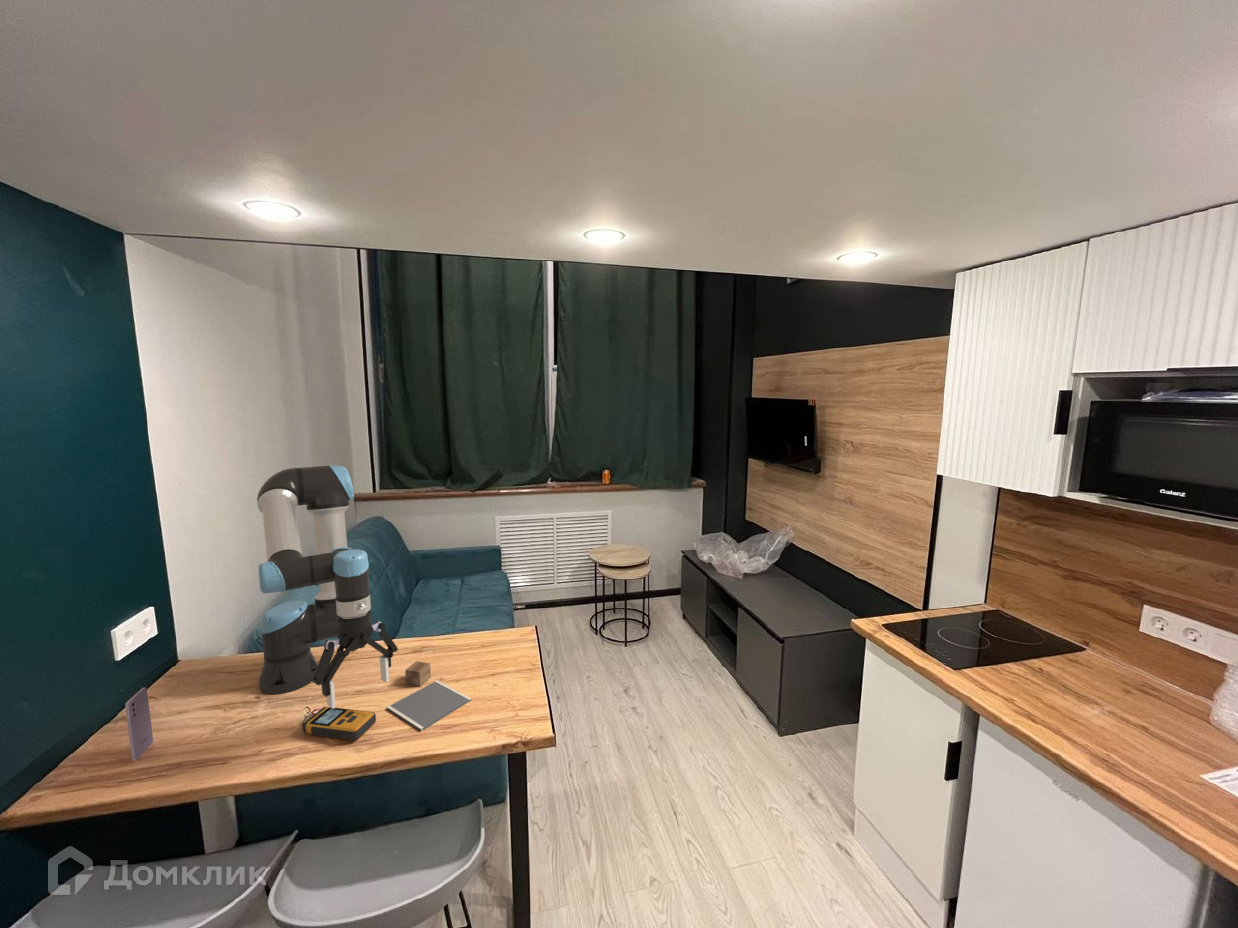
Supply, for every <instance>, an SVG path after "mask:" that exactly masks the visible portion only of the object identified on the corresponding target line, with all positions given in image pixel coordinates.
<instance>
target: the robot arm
mask: <svg viewBox="0 0 1238 928" xmlns="http://www.w3.org/2000/svg"><path fill="white" fill-rule="evenodd" d="M256 497H257V498H256V503H257V509H258V510H259V512H261V514H262V519H263V529H264V530H263V532H264V539H265V542H264V543H265V551H266V562H262V563H260V564H259V565H258V580H259V589H260V592H261V593H263V594H272V593H273V594H274V593H282V592H286V591H290V590H295V589H296V590H297V589H300V588H305V587H306V588H307V587H311V586H317V585H318V588H319V592H318V593H317V594H316V595H315V596H314V602H313V603H311V604H308V603H307V602H306V600H303V599H302V600H301V599H299V600H291V601H286V602H283V603H281V604H278V605H275V606H274V607H271V608H270V609H268V610H267V611H265V612H264V614H263V615H262V616H261V619H260V621H261V622H260V623H261V625H260V633H261V635H262V637H261V638H262V649H263V650H262V651H263V652H262V653H263V659H264V660H263V661H264V662H263V665H262V669H261V672H260V675H259V679H258V688H259V691H260V692H262V693H263V694H266V695H267V694H268V695H278V694H279V695H280V694H285V693H290V692H293V691H296V690H299V689H301V688H304V687H306V686H308V685H309V684H311V683H314V684H315V685H317V686H320V685H321V693H322V695H323V696H324V697H326V705H327V707H331V708H332V709H333V708H337V707H336V693H335V681H333V678H334V676H335V674H336V673H337V672H338V670H339V668H340V667H341V665H342V664H343V662H344V661H345V659H346V657H348V656H349V654H350V653H351V652H352V653H353V652H355V651H357V650H358V649H363V648H365V646H366V645H368V646H370V647H372V648H373V649H374V650H376V651H378V652H379V653H381V654H382V655H379V667H380V680H381V681H383V682H384V683H388V682H390V673H389V671H390V670H389V668H391V667H392V658H393V657H394V653H396V652H398V650H399V648H398V646H397V645H396V644H395V641H394V640H393V639H392V638H391V636H390V635H389V633H388V632H387V631H386V627H385V623H384V622H382V621H379V620H376V621H375V622H374V624H373V620H372V610H371V609H372V608H371V607H372V606H371V605H372V603H371V592H370V591H371V590H370V575H369V573H370V572H369V569H370V568H369V566H370V563H369V559H368V553H367V552H366V551H365V550H362V549H357V548H356V549H352V548H350V547H348V541H347V539H348V537H347V527H346V526H347V525H346V517H345V516H346V514H345V512H346V510H348V508H349V507H350V502H352V501H353V500H354V498H355V494H354V487H353V483H352V478H351V476H350V473H349V471H348V468H346V467H345V466H343V465H329V464H328V465H322V466H321V465H319V466H308V467H307V466H306V467H291V468H286V469H283V470H280V471H277V472H276V473H274V474H273V475H272V476H270V477H269V478H268V479H267V480H266V481H264V483H263V484H262V486H261V487H260V489H259V491H258V493H257V496H256ZM297 506H306V511H307V512H308V513H310V515H312V518H313V530H314V541H315V555H314V554H313V555H305V556H303V551H302V544H301V539H300V533H299V527H298V526H299V525H298V521H297V514H296V508H297ZM374 632H376V633H377V634H378V636H379V637H380V639H381V640H382V641H383V643H384V644H385V646H386V647H387V648H385V647H384V646H383V645H381V644H379V643H378V642H376V641H375V640H374V639H373V638H371V637H372V635H373V633H374ZM332 638H334V639H332ZM330 639H331V640H330ZM320 641H324V646H323V651H322V654H321V656H320V659H319V661H316V659H315V657H314V655H313V653H312V650H311V644H312V643H317V642H320ZM338 645H339V646H338ZM337 646H338V647H337ZM344 649H345V650H344ZM335 650H336V652H335ZM334 652H335V655H334ZM317 662H318V663H317Z"/></svg>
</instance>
